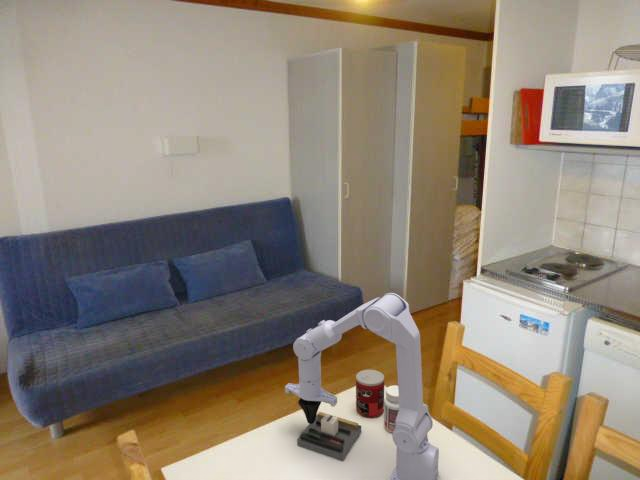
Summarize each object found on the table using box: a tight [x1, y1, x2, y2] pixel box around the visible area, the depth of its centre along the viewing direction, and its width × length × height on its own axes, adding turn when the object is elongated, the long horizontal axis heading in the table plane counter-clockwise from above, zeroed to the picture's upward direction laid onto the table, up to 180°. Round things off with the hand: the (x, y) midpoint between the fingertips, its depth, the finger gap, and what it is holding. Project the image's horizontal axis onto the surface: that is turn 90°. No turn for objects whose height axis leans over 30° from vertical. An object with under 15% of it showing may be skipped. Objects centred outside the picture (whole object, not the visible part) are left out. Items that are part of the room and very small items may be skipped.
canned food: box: [355, 369, 385, 419], centre depth 134 cm, size 8×8×11 cm
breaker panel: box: [296, 411, 362, 462], centre depth 124 cm, size 13×12×3 cm
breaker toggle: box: [321, 413, 338, 436], centre depth 123 cm, size 4×3×4 cm
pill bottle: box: [383, 384, 399, 434], centre depth 127 cm, size 6×6×11 cm
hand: (311, 421), depth 126 cm, fingers closed
